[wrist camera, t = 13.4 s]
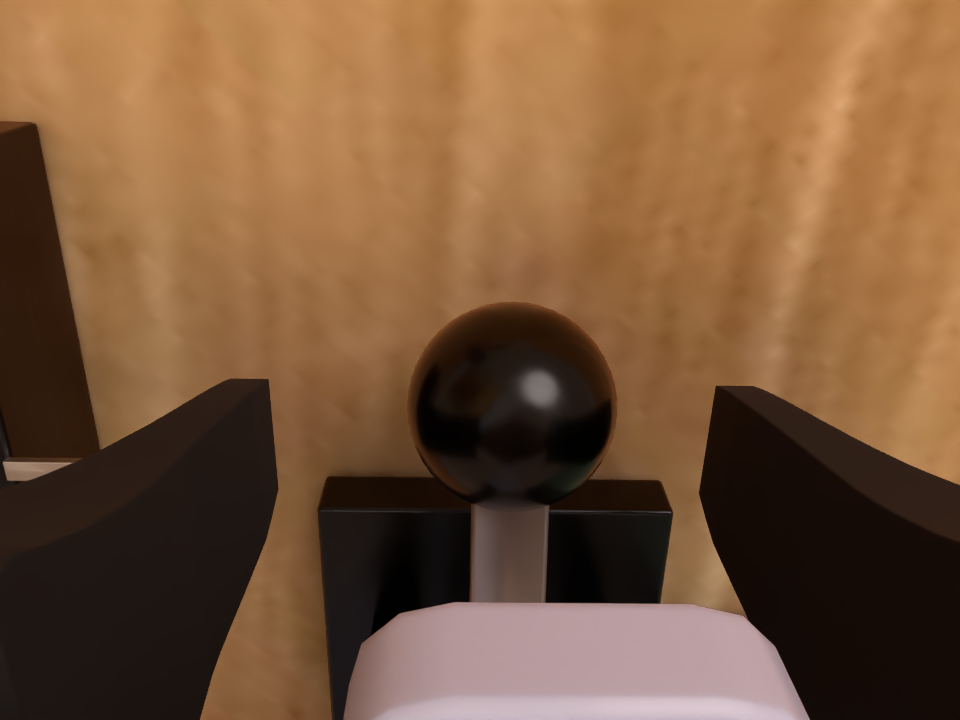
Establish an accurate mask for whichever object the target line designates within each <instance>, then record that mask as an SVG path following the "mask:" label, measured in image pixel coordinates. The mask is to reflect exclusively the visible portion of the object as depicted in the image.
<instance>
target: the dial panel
mask: <svg viewBox="0 0 960 720" xmlns="http://www.w3.org/2000/svg"><path fill="white" fill-rule="evenodd" d="M98 451H100V447H99V442H98V437H97V431H96V426H95V421H94V416H93V411H92V406H91V401H90V395H89V390H88V385H87V380H86V375H85V370H84V365H83V360H82V354H81V349H80V344H79V339H78V334H77V329H76V324H75V319H74V313H73V308H72V303H71V298H70V293H69V288H68V283H67V277H66V272H65V267H64V262H63V257H62V252H61V247H60V242H59V236H58V231H57V226H56V221H55V216H54V211H53V206H52V201H51V195H50V190H49V185H48V180H47V175H46V170H45V165H44V159H43V154H42V149H41V144H40V139H39V134H38V129H37V126H36V124H33V123H31V122H0V490H1V489H4V488H7V487H10V486H13V485H16V484H19V483H22V482H25V481H28V480H31V479H34V478H37V477H39V476H42V475H45V474H47V473H50V472H52V471H54V470H57V469H59V468H62V467H64V466H67V465H69V464H71V463H74V462H76V461H78V460H80V459H83V458H85V457H87V456H89V455H91V454H94V453H96V452H98Z"/></svg>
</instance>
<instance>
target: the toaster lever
mask: <svg viewBox="0 0 960 720" xmlns="http://www.w3.org/2000/svg"><path fill="white" fill-rule="evenodd" d="M407 410H408V423H409V428H410V432H411V436H412V439H413V442H414V445H415V447H416V449H417V451H418V453H419V455H420V457H421V459H422V461H423V463H424V464H425V466H426V467H427V468H428V470H429V471H430V473H431V474H432V475H433V476H434V477H435V478H436V479H437V480H438V482H439V483H441V484H442V485H443V486H444V487H445V488H446V489H448V490H449V491H450V492H452V493H453V494H455V495H457V496H458V497H460V498H461V499H463V500H465V501H467V502H469V503H471V539H470V592H469V602H487V603H545V600H546V575H547V550H548V525H549V505H551V504H553V503H556V502H558V501H560V500H562V499H564V498H565V497H567V496H569V495H570V494H572V493H573V492H574V491H576V490H577V489H578V488H580V487H581V486H582V485H583V484H584V483H585V482H586V481H587V480H588V479H589V478H590V477H591V476H592V474H593V473H594V472H595V470H596V469H597V468H598V466H599V465H600V464H601V462H602V460H603V458H604V457H605V455H606V453H607V451H608V448H609V446H610V444H611V441H612V438H613V434H614V430H615V425H616V417H617V396H616V390H615V384H614V380H613V377H612V374H611V371H610V369H609V366H608V364H607V362H606V360H605V357H604V356H603V354H602V352H601V351H600V349H599V348H598V346H597V345H596V343H595V342H594V341H593V340H592V339H591V337H590V336H589V335H588V334H587V333H586V332H585V331H584V330H583V329H582V328H580V327H579V326H578V325H577V324H575V323H574V322H572V321H571V320H570V319H568V318H567V317H565V316H563V315H561V314H559V313H557V312H555V311H553V310H551V309H548V308H545V307H542V306H539V305H534V304H530V303H521V302H501V303H495V304H489V305H485V306H482V307H479V308H476V309H473V310H471V311H469V312H466V313H464V314H462V315H460V316H459V317H457V318H456V319H454V320H453V321H451V322H450V323H448V324H447V325H446V326H445V327H444V328H442V329H441V330H440V331H439V332H438V333H437V334H436V335H435V336H434V338H433V339H432V340H431V341H430V342H429V344H428V345H427V347H426V348H425V350H424V351H423V353H422V354H421V356H420V358H419V360H418V362H417V364H416V366H415V369H414V372H413V374H412V377H411V381H410V386H409V391H408V403H407Z"/></svg>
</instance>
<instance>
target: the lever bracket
mask: <svg viewBox="0 0 960 720" xmlns="http://www.w3.org/2000/svg"><path fill="white" fill-rule="evenodd" d="M317 512H318V526H319V540H320V555H321V569H322V583H323V598H324V612H325V626H326V640H327V655H328V669H329V683H330V697H331V712H332V720H343V718H344V712H345V707H346V701H347V695H348V689H349V683H350V680H351V677H352V673H353V670H354V667H355V663H356V660H357V657H358V653H359V650H360V647H361V644H362V643H363V642H364V641H366V640H367V639H368V638H369V637H371V636H372V635H373V634H374V633H376V632H377V631H378V630H379V629H381V628H382V627H383V626H385V625H386V624H387V623H388V622H390V621H391V620H392V619H393V618H395V617H396V616H397V615H398V614H400V613H404V612H409V611H414V610H419V609H424V608H429V607H433V606H438V605H443V604H448V603H453V602H469V592H470V539H471V503H469V502H467V501H465V500H463V499H461V498H460V497H458V496H457V495H455V494H453V493H452V492H450V491H449V490H448V489H446V488H445V487H444V486H443V485H442V484H441V483H439V482H438V480H437V479H436V478H430V477H346V476H330V477H327V478H326V480H325V484H324V487H323V491H322V494H321V498H320V501H319V505H318V508H317ZM672 518H673V511H672V508H671V506H670V503H669V501H668V498H667V495H666V493H665V490H664V488H663V485H662V483H661V481H658V480H597V479H588V480H587V481H586V482H585V483H584V484H583V485H582V486H581V487H580V488H578V489H577V490H576V491H574V492H573V493H572V494H570V495H569V496H567V497H565V498H564V499H562V500H560V501H558V502H556V503H553V504H551V505H549V525H548V550H547V575H546V600H545V603H614V604H660V600H661V594H662V587H663V580H664V573H665V566H666V559H667V553H668V546H669V539H670V532H671V525H672Z"/></svg>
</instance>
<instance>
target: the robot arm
mask: <svg viewBox="0 0 960 720" xmlns="http://www.w3.org/2000/svg"><path fill="white" fill-rule="evenodd" d="M277 492H278V479H277V468H276V457H275V446H274V435H273V424H272V412H271V401H270V390H269V379H228V380H226V381H223V382H221V383H219V384H217V385H216V386H214V387H212V388H210V389H208V390H207V391H205V392H203V393H201V394H200V395H198V396H196V397H195V398H193V399H191V400H190V401H188V402H186V403H185V404H183V405H181V406H180V407H178V408H176V409H175V410H173V411H171V412H169V413H168V414H166V415H164V416H163V417H161V418H159V419H158V420H156V421H154V422H153V423H151V424H149V425H147V426H145V427H143V428H141V429H140V430H138V431H136V432H134V433H132V434H130V435H128V436H126V437H125V438H123V439H121V440H119V441H117V442H115V443H113V444H111V445H110V446H108V447H106V448H104V449H102V450H100V451H98V452H96V453H94V454H91V455H89V456H87V457H85V458H83V459H80V460H78V461H76V462H74V463H71V464H69V465H67V466H64V467H62V468H59V469H57V470H54V471H52V472H50V473H47V474H45V475H42V476H39V477H37V478H34V479H31V480H28V481H25V482H22V483H19V484H16V485H13V486H10V487H7V488H4V489H1V490H0V720H200V717H201V713H202V709H203V706H204V702H205V699H206V695H207V692H208V688H209V685H210V681H211V678H212V674H213V672H214V669H215V666H216V663H217V660H218V657H219V655H220V652H221V649H222V647H223V644H224V642H225V639H226V637H227V634H228V632H229V630H230V627H231V625H232V622H233V620H234V617H235V615H236V613H237V610H238V608H239V605H240V603H241V600H242V598H243V596H244V593H245V591H246V588H247V586H248V584H249V581H250V579H251V576H252V574H253V571H254V569H255V566H256V564H257V561H258V559H259V556H260V554H261V551H262V549H263V546H264V544H265V541H266V538H267V534H268V530H269V526H270V522H271V518H272V514H273V510H274V505H275V501H276V497H277ZM699 495H700V499H701V502H702V506H703V510H704V514H705V517H706V521H707V524H708V528H709V531H710V534H711V537H712V541H713V544H714V546H715V548H716V551H717V553H718V555H719V557H720V559H721V562H722V564H723V566H724V568H725V570H726V573H727V575H728V577H729V579H730V581H731V583H732V586H733V588H734V590H735V592H736V594H737V596H738V598H739V600H740V603H741V605H742V607H743V609H744V611H745V613H746V615H747V617H748V620H749V621H748V620H747V619H746V618H745V617H744V616H741V615H737V614H732V613H728V612H724V611H719V610H715V609H711V608H706V607H702V606H697V605H693V604H614V603H487V602H453V603H448V604H443V605H438V606H433V607H429V608H424V609H419V610H414V611H409V612H404V613H400V614H398V615H397V616H396V617H395V618H393V619H392V620H391V621H390V622H388V623H387V624H386V625H385V626H383V627H382V628H381V629H379V630H378V631H377V632H376V633H374V634H373V635H372V636H371V637H369V638H368V639H367V640H366V641H364V642H363V643H362V644H361V647H360V650H359V653H358V657H357V660H356V663H355V667H354V670H353V673H352V677H351V680H350V683H349V689H348V695H347V701H346V707H345V712H344V718H343V720H960V485H958V484H955V483H953V482H950V481H948V480H945V479H942V478H940V477H937V476H935V475H932V474H930V473H927V472H925V471H922V470H920V469H918V468H916V467H913V466H911V465H909V464H906V463H904V462H902V461H900V460H898V459H896V458H894V457H892V456H890V455H887V454H885V453H883V452H881V451H879V450H877V449H875V448H873V447H871V446H869V445H867V444H865V443H863V442H861V441H859V440H857V439H855V438H853V437H851V436H849V435H848V434H846V433H844V432H842V431H840V430H838V429H836V428H835V427H833V426H831V425H829V424H827V423H825V422H823V421H822V420H820V419H818V418H816V417H814V416H813V415H811V414H809V413H807V412H805V411H804V410H802V409H800V408H798V407H796V406H794V405H793V404H791V403H789V402H787V401H785V400H783V399H781V398H779V397H777V396H775V395H773V394H771V393H769V392H767V391H765V390H762V389H760V388H757V387H754V386H716V389H715V395H714V401H713V408H712V414H711V420H710V427H709V433H708V440H707V446H706V452H705V459H704V465H703V471H702V478H701V484H700V490H699Z"/></svg>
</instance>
